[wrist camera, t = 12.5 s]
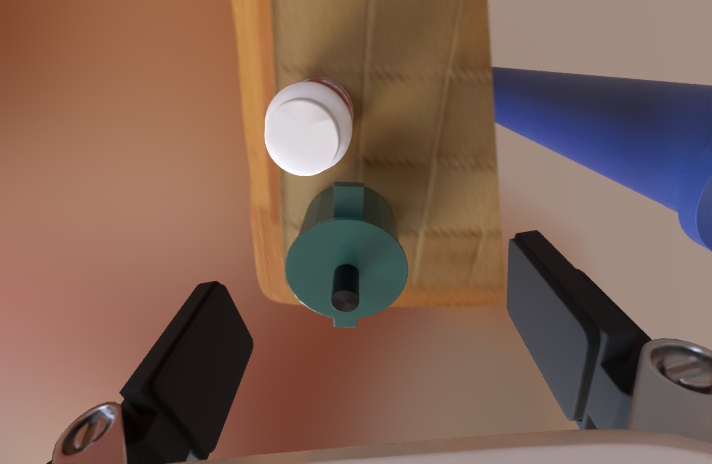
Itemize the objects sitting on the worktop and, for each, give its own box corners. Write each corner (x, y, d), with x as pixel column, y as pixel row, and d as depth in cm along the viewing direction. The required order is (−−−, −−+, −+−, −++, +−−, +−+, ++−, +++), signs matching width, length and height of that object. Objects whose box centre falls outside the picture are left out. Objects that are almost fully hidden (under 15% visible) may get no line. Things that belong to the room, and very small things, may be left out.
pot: (400, 159, 31) (412, 191, 24) (387, 281, 39) (394, 334, 31) (301, 156, 31) (283, 187, 24) (307, 279, 39) (296, 331, 31)
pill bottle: (365, 127, 30) (369, 161, 20) (310, 157, 31) (289, 202, 22) (332, 61, 27) (318, 64, 18) (273, 97, 29) (231, 119, 19)
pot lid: (413, 215, 26) (423, 245, 22) (400, 312, 31) (406, 351, 27) (282, 211, 26) (268, 240, 22) (291, 309, 31) (281, 347, 27)
